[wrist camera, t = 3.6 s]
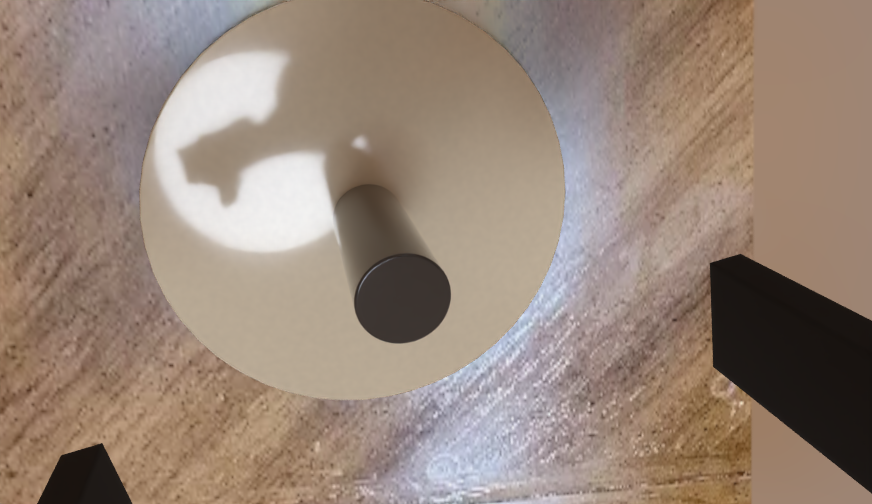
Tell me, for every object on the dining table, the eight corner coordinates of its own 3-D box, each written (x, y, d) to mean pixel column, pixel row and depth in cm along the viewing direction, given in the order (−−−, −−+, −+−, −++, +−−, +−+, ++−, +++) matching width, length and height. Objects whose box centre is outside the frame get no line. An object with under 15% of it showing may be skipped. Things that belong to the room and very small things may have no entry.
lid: (526, -51, 24) (656, -85, 16) (574, 327, 31) (684, 444, 22) (71, 44, 22) (-58, 62, 14) (226, 431, 28) (203, 606, 20)
